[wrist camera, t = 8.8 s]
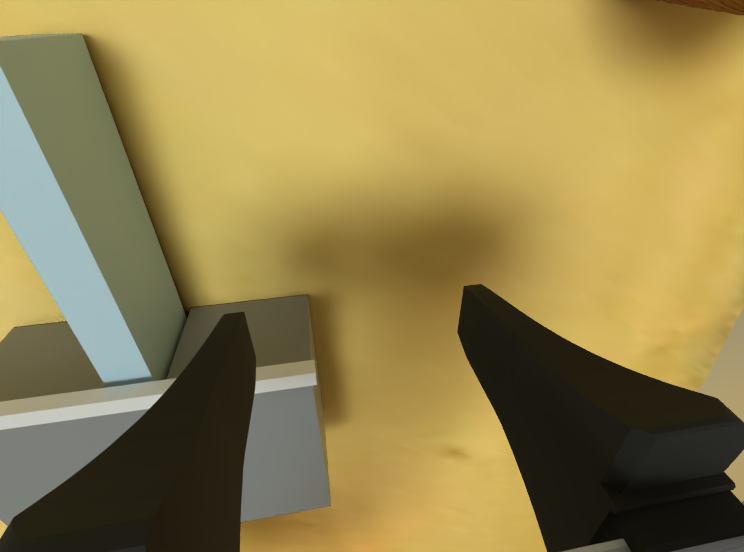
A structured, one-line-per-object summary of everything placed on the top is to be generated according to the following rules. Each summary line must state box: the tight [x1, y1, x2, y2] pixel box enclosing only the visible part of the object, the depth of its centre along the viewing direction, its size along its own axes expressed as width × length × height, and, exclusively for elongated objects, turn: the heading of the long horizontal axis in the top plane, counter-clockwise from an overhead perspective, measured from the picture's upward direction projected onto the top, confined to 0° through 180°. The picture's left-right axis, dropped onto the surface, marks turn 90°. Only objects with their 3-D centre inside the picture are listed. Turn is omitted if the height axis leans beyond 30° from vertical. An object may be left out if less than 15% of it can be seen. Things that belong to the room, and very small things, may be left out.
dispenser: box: [0, 295, 331, 526], centre depth 22 cm, size 12×16×7 cm
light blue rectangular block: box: [0, 33, 187, 388], centre depth 16 cm, size 14×2×6 cm, turn 1°
